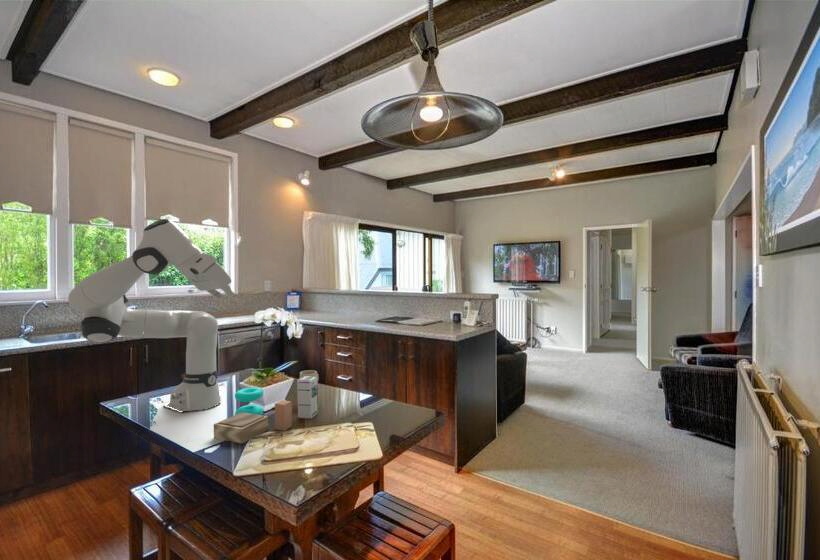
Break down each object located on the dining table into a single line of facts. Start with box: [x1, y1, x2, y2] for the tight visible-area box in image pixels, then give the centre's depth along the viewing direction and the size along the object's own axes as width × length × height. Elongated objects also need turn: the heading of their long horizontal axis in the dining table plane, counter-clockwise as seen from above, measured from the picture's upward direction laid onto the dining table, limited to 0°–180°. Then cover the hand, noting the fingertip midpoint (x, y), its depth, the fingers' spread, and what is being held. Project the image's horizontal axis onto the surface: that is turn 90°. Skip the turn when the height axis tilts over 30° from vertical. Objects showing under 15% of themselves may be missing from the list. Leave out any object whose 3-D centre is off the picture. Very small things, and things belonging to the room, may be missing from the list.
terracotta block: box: [274, 399, 293, 431], centre depth 135 cm, size 4×4×9 cm
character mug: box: [297, 369, 319, 382], centre depth 162 cm, size 11×7×13 cm, turn 145°
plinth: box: [213, 412, 269, 444], centre depth 130 cm, size 12×12×5 cm
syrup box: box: [296, 376, 319, 419], centre depth 146 cm, size 6×6×14 cm
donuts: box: [234, 387, 264, 415], centre depth 146 cm, size 10×10×10 cm
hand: (225, 297), depth 125 cm, fingers open, 8 cm apart
